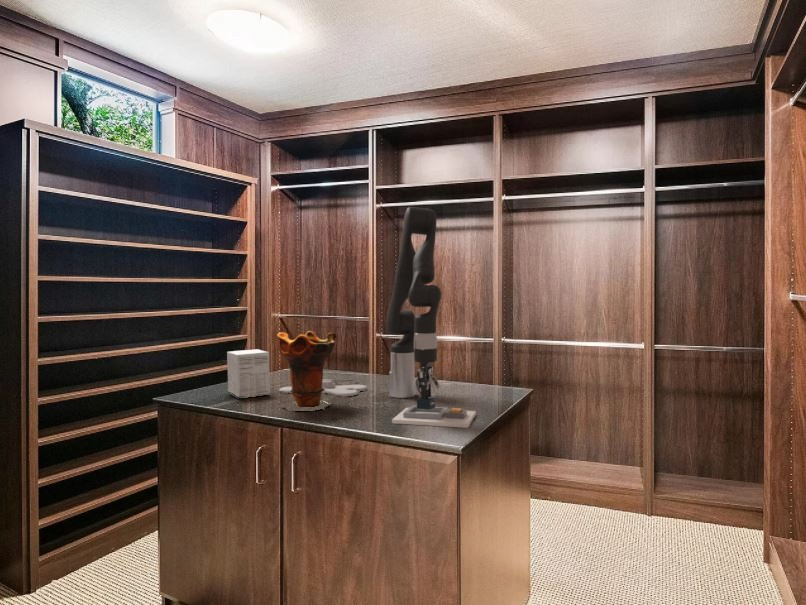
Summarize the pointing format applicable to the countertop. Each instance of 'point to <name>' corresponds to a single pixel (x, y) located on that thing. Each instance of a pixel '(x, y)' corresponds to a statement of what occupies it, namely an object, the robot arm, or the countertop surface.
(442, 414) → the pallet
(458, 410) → the button
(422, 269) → the robot arm
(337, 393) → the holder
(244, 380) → the supplement box
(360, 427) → the countertop surface
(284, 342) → the decorative vase
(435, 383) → the watch
